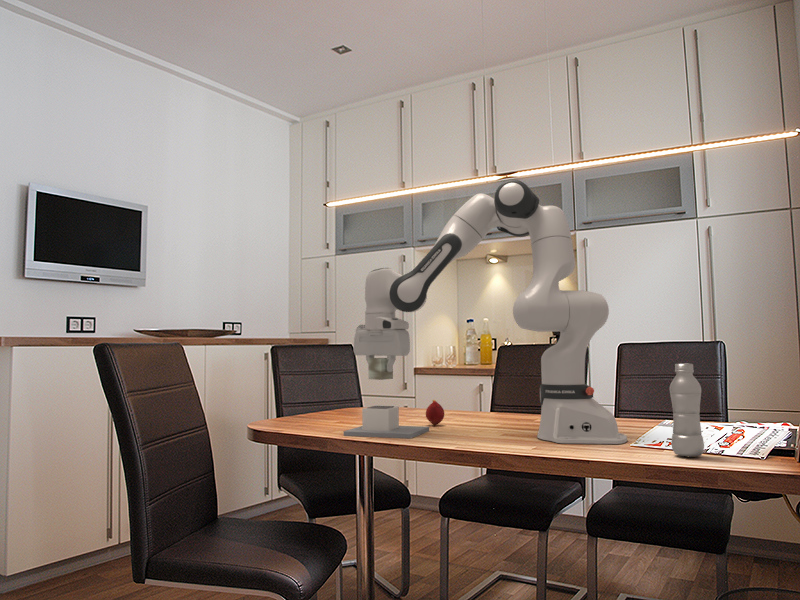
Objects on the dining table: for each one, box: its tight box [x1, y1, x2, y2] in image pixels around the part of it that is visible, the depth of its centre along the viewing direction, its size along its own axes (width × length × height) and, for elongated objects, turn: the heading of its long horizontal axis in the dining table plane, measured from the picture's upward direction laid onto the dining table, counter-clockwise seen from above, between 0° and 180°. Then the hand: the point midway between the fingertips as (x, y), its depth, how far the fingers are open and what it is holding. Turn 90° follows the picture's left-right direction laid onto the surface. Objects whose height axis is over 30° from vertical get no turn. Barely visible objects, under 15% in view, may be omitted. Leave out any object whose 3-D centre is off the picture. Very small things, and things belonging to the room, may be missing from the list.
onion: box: [425, 399, 445, 427], centre depth 193 cm, size 6×6×8 cm
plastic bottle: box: [669, 363, 705, 458], centre depth 135 cm, size 6×7×20 cm
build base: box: [343, 405, 430, 439], centre depth 177 cm, size 20×16×7 cm
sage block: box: [367, 357, 394, 381], centre depth 180 cm, size 5×5×6 cm
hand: (380, 371), depth 180 cm, fingers closed on sage block, 5 cm apart
